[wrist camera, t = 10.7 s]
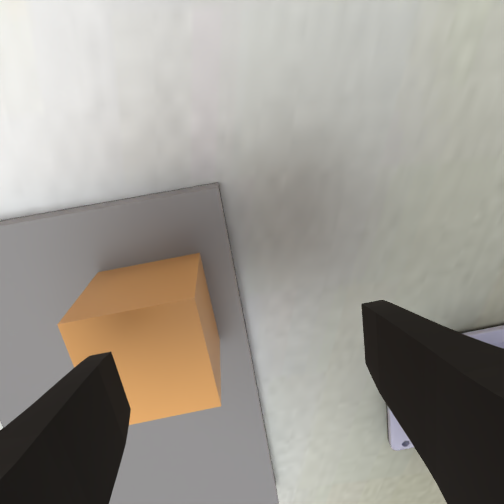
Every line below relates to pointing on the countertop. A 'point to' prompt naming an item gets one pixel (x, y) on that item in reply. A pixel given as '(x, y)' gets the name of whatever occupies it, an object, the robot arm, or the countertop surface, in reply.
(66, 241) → the board
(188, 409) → the wooden cube
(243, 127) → the countertop surface
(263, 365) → the countertop surface
